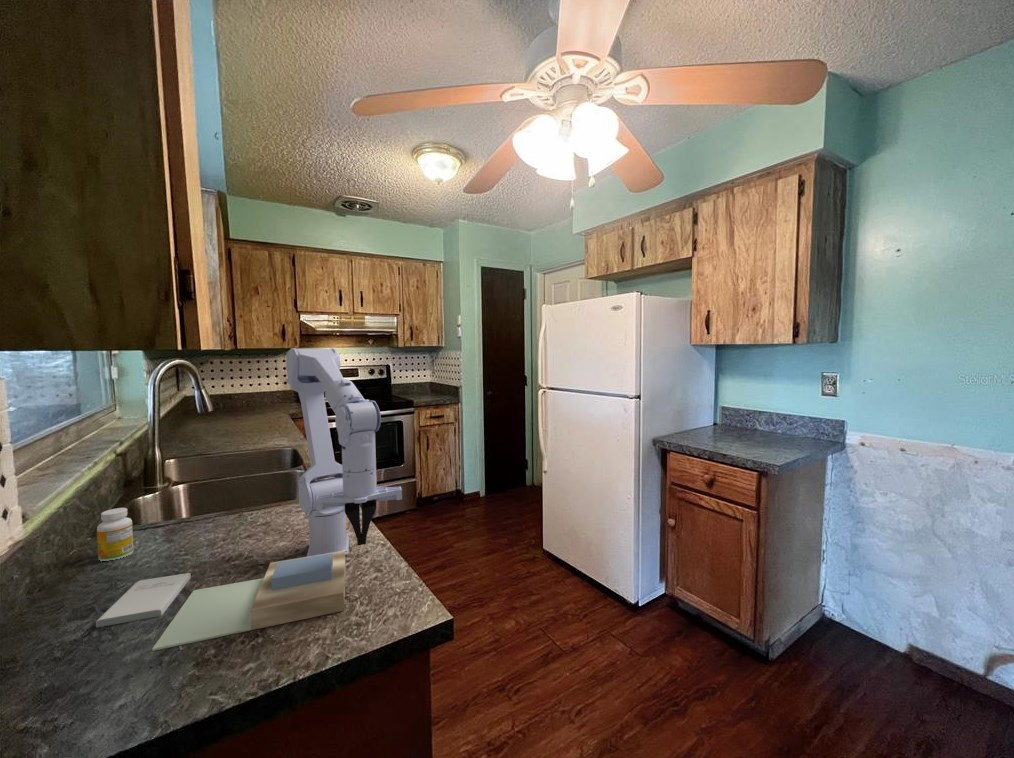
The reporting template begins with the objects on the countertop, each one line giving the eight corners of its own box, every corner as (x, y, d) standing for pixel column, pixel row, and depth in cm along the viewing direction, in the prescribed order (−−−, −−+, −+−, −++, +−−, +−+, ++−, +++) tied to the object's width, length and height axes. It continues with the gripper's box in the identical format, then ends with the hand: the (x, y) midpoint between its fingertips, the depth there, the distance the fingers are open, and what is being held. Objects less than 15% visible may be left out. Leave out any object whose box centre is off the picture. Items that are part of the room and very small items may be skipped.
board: (271, 578, 76) (270, 562, 76) (345, 565, 81) (345, 550, 81) (251, 630, 61) (250, 610, 61) (344, 610, 66) (343, 592, 66)
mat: (193, 591, 72) (193, 590, 72) (271, 578, 76) (270, 576, 76) (152, 651, 57) (152, 649, 57) (251, 630, 61) (251, 628, 61)
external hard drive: (95, 630, 62) (136, 588, 74) (161, 618, 65) (191, 580, 77) (95, 620, 62) (136, 580, 74) (161, 608, 65) (190, 571, 77)
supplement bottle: (99, 556, 86) (97, 510, 86) (133, 548, 90) (131, 504, 90) (97, 565, 82) (94, 517, 82) (133, 556, 86) (131, 511, 86)
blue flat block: (278, 573, 72) (277, 562, 72) (333, 563, 75) (332, 553, 75) (271, 590, 67) (271, 578, 67) (331, 579, 70) (331, 568, 70)
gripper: (313, 478, 67) (315, 559, 68) (403, 469, 73) (405, 544, 73) (316, 468, 74) (319, 542, 74) (398, 461, 79) (400, 530, 80)
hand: (361, 542), depth 74 cm, fingers closed
